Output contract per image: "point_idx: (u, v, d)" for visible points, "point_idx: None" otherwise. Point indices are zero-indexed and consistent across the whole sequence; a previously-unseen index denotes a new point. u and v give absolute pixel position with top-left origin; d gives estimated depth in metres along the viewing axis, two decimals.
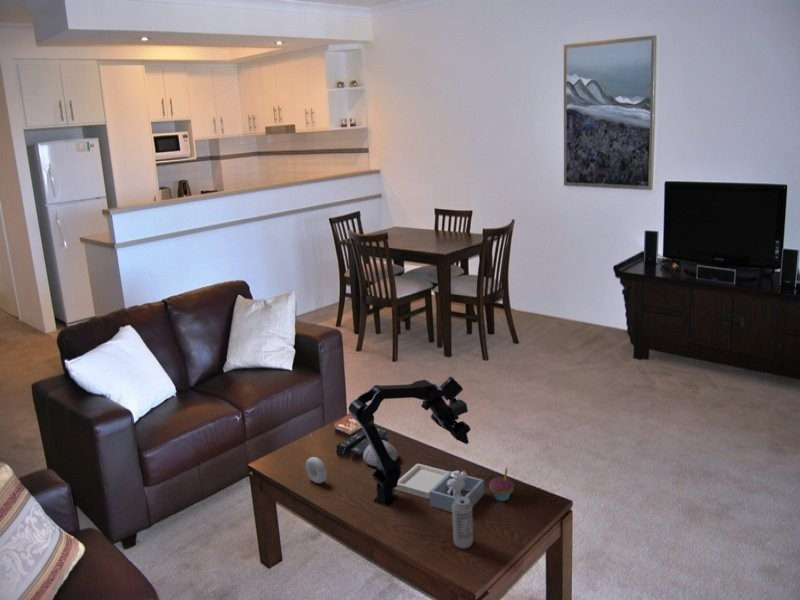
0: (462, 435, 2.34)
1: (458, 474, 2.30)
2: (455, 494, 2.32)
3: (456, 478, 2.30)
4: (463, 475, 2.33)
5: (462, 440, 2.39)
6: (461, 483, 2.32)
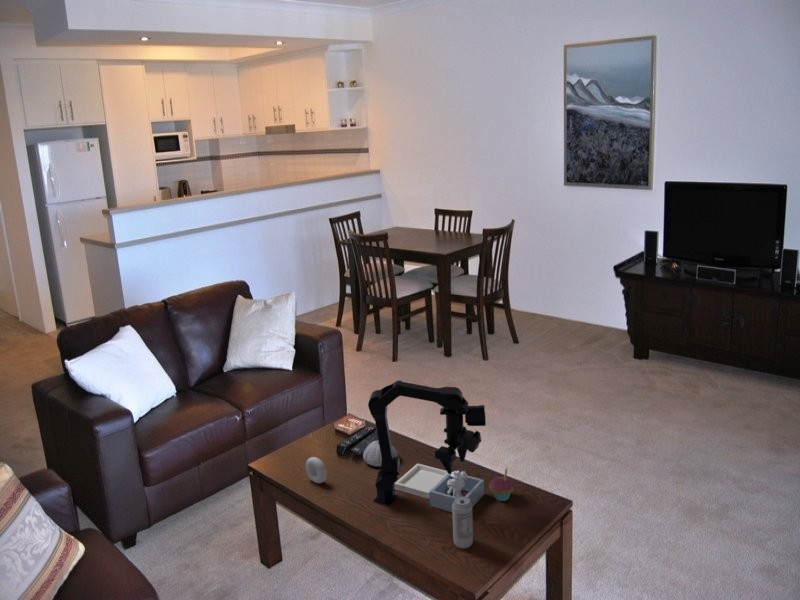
0: (439, 457, 2.22)
1: (458, 474, 2.30)
2: (455, 494, 2.32)
3: (456, 478, 2.30)
4: (463, 475, 2.33)
5: (444, 465, 2.26)
6: (461, 483, 2.32)
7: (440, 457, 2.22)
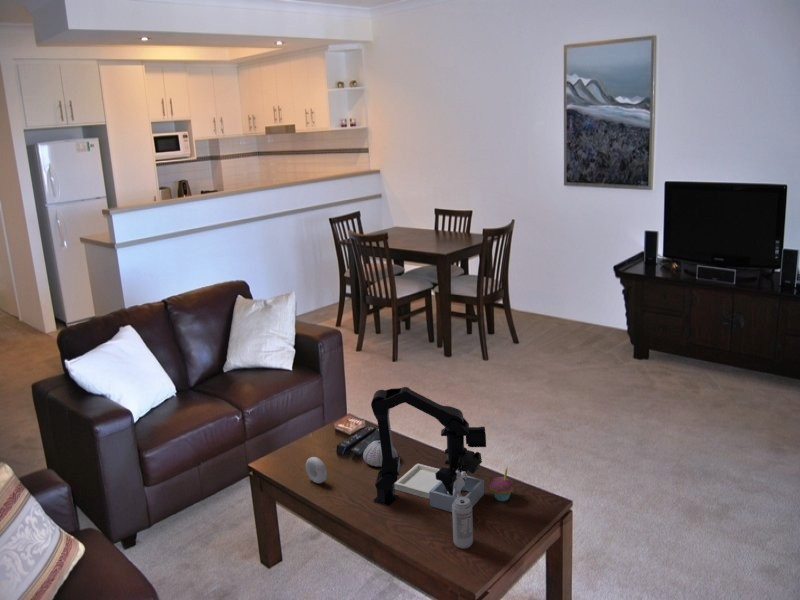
0: (440, 479, 2.24)
1: (458, 474, 2.30)
2: (455, 494, 2.32)
3: None
4: (463, 475, 2.33)
5: (445, 485, 2.28)
6: (461, 483, 2.32)
7: (441, 478, 2.24)
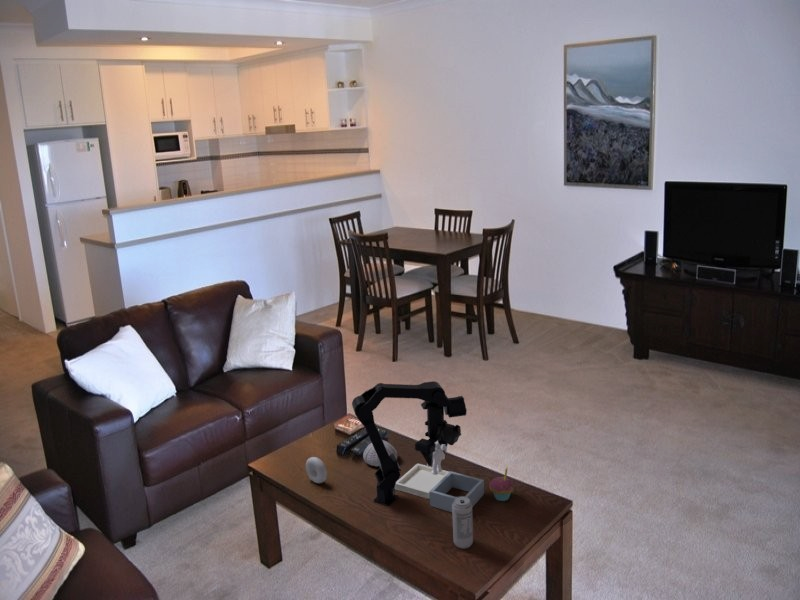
0: (419, 449, 2.28)
1: (438, 446, 2.35)
2: (434, 466, 2.36)
3: (436, 450, 2.34)
4: (443, 448, 2.37)
5: (425, 456, 2.32)
6: (441, 455, 2.36)
7: (420, 449, 2.28)
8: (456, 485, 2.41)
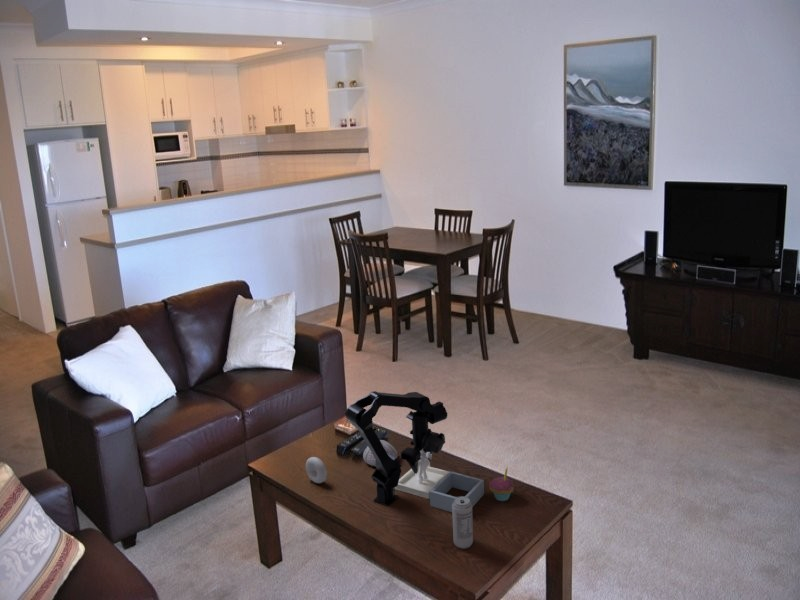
0: (405, 458, 2.35)
1: (423, 454, 2.41)
2: (420, 473, 2.43)
3: (421, 458, 2.41)
4: (428, 455, 2.44)
5: (410, 465, 2.39)
6: (426, 463, 2.43)
7: (405, 457, 2.35)
8: (456, 485, 2.41)
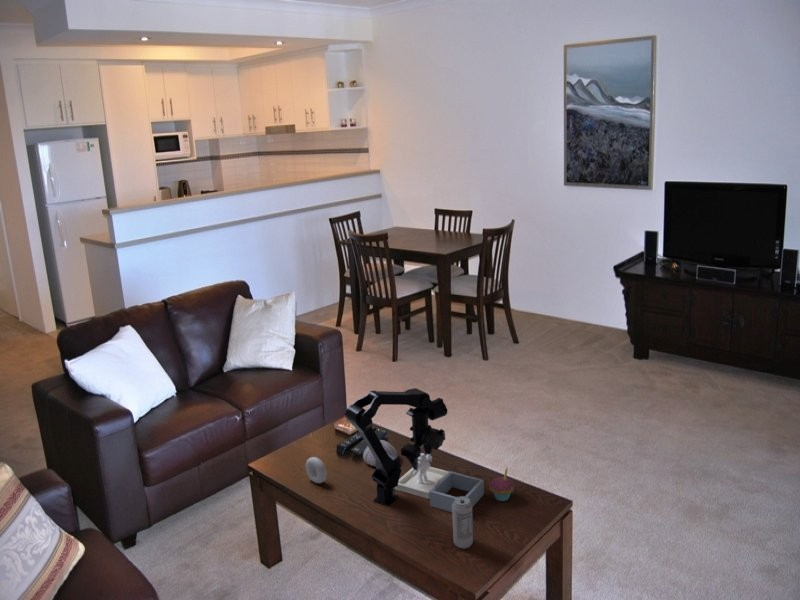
0: (405, 454, 2.35)
1: (423, 456, 2.42)
2: (420, 475, 2.44)
3: (421, 460, 2.42)
4: (428, 457, 2.45)
5: (410, 461, 2.39)
6: (426, 465, 2.44)
7: (406, 454, 2.34)
8: (456, 485, 2.41)
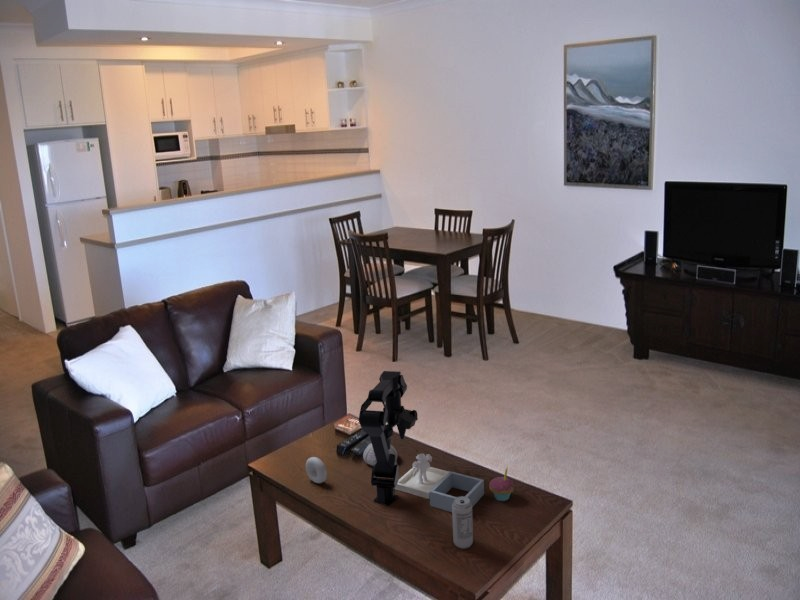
0: None
1: (423, 456, 2.42)
2: (420, 476, 2.44)
3: (421, 460, 2.42)
4: (428, 458, 2.45)
5: None
6: (426, 465, 2.44)
7: None
8: (456, 485, 2.41)
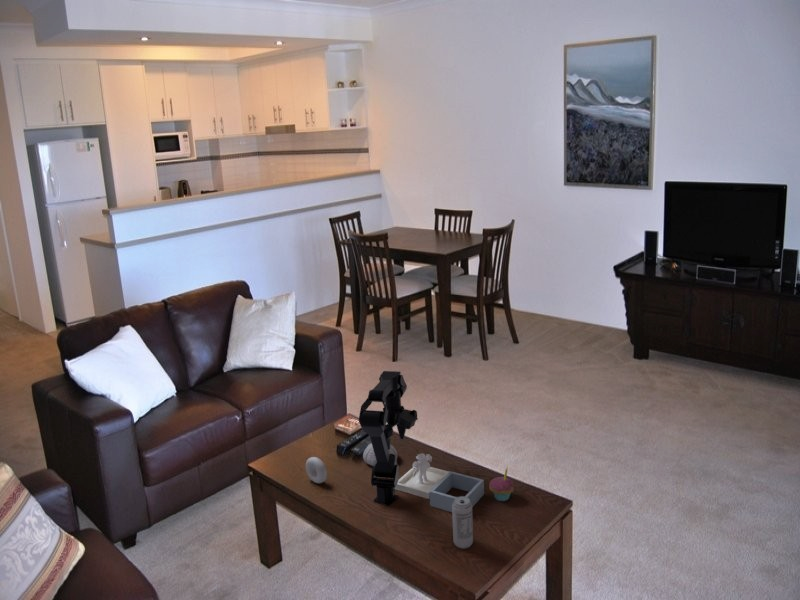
0: None
1: (423, 456, 2.42)
2: (420, 475, 2.44)
3: (421, 460, 2.42)
4: (428, 458, 2.45)
5: None
6: (426, 465, 2.44)
7: None
8: (456, 485, 2.41)
